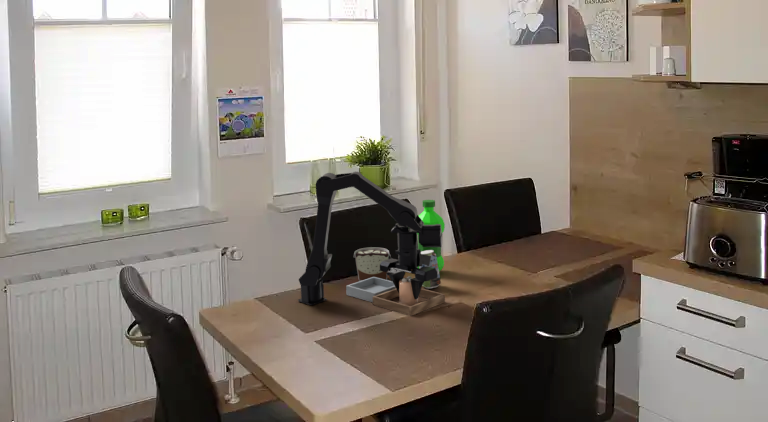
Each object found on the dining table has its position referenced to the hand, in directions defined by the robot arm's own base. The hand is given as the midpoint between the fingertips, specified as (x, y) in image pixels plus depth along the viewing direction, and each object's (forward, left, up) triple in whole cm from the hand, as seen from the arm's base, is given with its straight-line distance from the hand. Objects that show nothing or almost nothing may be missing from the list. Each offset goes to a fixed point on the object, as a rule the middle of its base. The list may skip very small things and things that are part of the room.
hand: (408, 296), depth 240 cm
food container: (+12, +27, -2) cm, 29 cm away
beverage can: (+16, +6, -2) cm, 17 cm away
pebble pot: (0, 0, -2) cm, 2 cm away
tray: (0, +15, -2) cm, 15 cm away
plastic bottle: (+28, +16, -2) cm, 32 cm away
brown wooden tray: (0, 0, -2) cm, 2 cm away
